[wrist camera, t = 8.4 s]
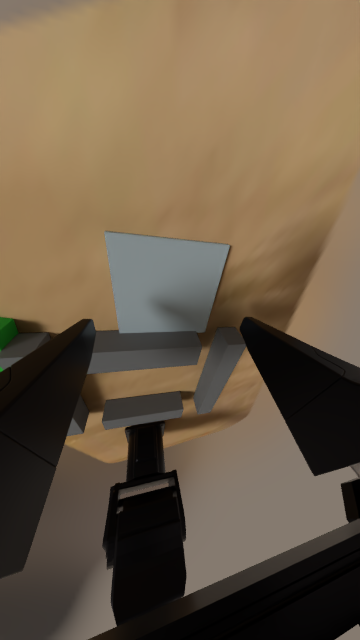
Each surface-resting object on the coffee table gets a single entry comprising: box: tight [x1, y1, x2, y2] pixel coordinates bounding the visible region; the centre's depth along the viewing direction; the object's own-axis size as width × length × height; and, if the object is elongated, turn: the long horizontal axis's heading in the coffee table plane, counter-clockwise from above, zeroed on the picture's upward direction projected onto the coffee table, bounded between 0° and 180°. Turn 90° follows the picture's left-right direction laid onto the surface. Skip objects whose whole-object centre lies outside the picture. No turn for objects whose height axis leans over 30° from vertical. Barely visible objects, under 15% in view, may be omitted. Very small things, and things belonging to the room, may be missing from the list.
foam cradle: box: [0, 327, 246, 436], centre depth 17 cm, size 14×19×2 cm
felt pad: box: [104, 231, 230, 333], centre depth 12 cm, size 8×8×1 cm
